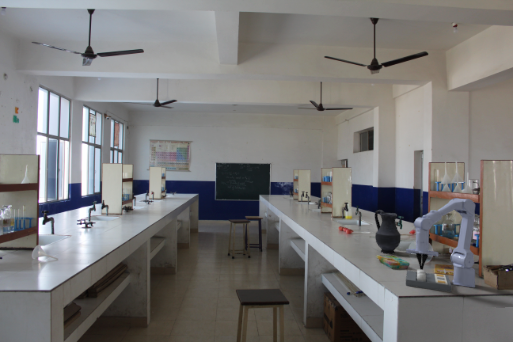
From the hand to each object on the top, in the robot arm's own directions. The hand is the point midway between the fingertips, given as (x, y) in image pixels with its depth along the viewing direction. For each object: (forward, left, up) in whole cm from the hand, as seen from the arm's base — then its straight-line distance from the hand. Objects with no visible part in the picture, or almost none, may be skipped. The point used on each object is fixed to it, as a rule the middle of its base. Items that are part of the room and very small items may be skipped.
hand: (421, 269), depth 177 cm
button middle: (0, -7, -7) cm, 9 cm away
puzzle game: (+16, -40, -9) cm, 44 cm away
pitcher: (+23, -80, -9) cm, 83 cm away
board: (-3, -7, -8) cm, 11 cm away
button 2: (0, 0, -7) cm, 7 cm away
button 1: (0, -13, -8) cm, 15 cm away
